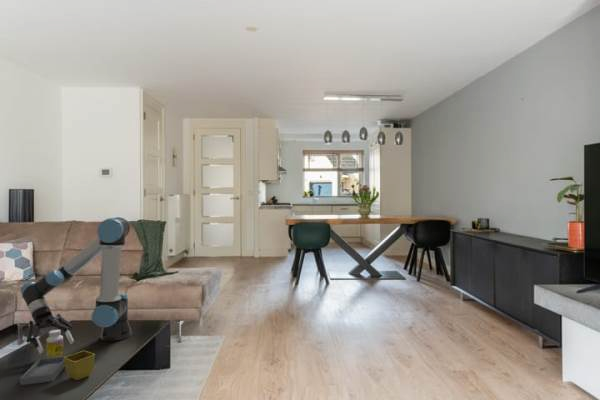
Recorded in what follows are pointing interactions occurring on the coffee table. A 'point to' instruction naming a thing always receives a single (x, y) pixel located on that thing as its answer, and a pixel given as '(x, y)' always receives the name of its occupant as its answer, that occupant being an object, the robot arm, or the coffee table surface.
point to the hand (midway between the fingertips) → (57, 347)
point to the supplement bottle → (54, 344)
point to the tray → (43, 370)
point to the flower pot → (79, 364)
